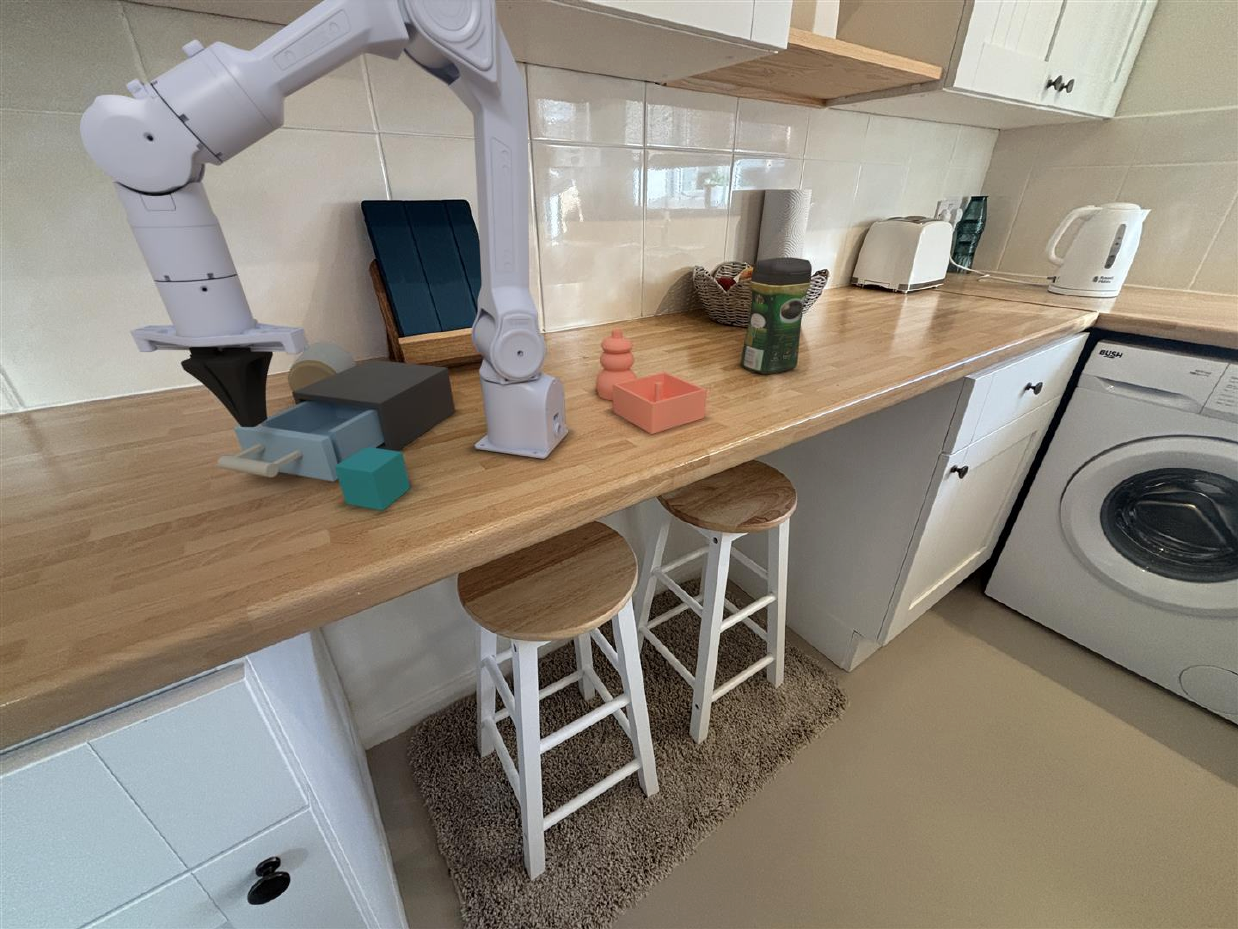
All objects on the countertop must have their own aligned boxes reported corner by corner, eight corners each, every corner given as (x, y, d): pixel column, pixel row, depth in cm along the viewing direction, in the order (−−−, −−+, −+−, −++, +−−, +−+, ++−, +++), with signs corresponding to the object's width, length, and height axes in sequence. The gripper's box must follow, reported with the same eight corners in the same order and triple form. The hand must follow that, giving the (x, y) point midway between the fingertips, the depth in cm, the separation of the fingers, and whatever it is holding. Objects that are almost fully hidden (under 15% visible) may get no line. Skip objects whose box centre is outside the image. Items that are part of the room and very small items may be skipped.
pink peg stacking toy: (704, 417, 69) (711, 348, 65) (651, 434, 65) (654, 361, 60) (629, 382, 82) (630, 322, 77) (580, 393, 77) (578, 330, 73)
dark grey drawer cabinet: (392, 454, 59) (380, 403, 56) (308, 441, 62) (291, 391, 59) (455, 412, 71) (447, 367, 67) (381, 402, 74) (370, 359, 70)
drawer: (298, 504, 48) (282, 461, 46) (209, 487, 51) (190, 445, 48) (408, 433, 62) (400, 397, 60) (334, 422, 65) (324, 388, 63)
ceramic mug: (292, 409, 71) (276, 357, 67) (311, 389, 78) (296, 341, 74) (372, 405, 73) (360, 354, 69) (382, 386, 80) (372, 339, 76)
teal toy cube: (410, 488, 53) (402, 451, 50) (382, 510, 49) (372, 472, 47) (375, 482, 54) (366, 446, 51) (346, 503, 50) (334, 466, 48)
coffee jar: (772, 358, 94) (789, 253, 85) (803, 370, 88) (824, 258, 79) (732, 365, 91) (745, 256, 82) (760, 378, 84) (778, 261, 75)
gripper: (308, 270, 45) (347, 408, 52) (155, 269, 46) (214, 406, 52) (255, 283, 39) (308, 438, 45) (79, 281, 39) (156, 434, 46)
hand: (254, 423), depth 48 cm, fingers closed
